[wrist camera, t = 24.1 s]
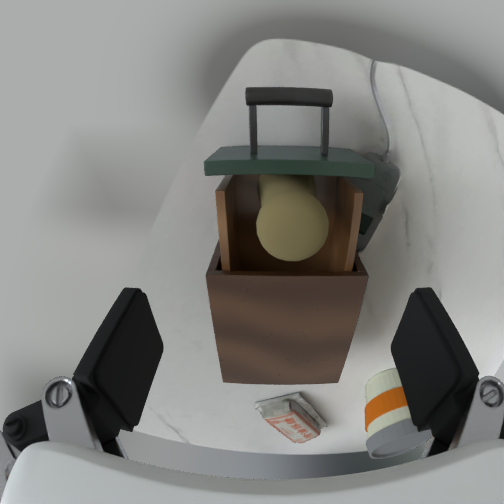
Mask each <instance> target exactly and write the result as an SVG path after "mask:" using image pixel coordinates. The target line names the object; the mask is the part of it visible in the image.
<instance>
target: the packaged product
mask: <svg viewBox="0 0 504 504" xmlns="http://www.w3.org/2000/svg"><path fill="white" fill-rule="evenodd" d="M255 409H256V410H257V411H258V412H259V413H260V414H262V417H263V419H264V420H266V421H267V422H268V423H269V424H270V425H272V426H273V427H274V428H276V429H277V430H278V431H279V432H281V433H282V434H283V435H285V436H286V437H287V438H289V439H290V440H291V441H292V442H294V443H304V442H306V441H309V440H311V439H313V438H315V437H317V436H319V435H320V432H321V430H320V429H322V428H323V427H327V424H326V422H324V421H323V420H322V419H321V418H320V416H319V415H318V414H317V413H316V411H315V410H314V409H313V407H312V405H310V404H308V403H307V402H306V401H305V399H304V398H303V397H302V396H301V395H300V394H299V393H294V394H290V395H286V396H282V397H278V398H274V399H269V400H265V401H260V402H256V403H255Z"/></svg>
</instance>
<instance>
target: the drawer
mask: <svg viewBox="0 0 504 504" xmlns="http://www.w3.org/2000/svg"><path fill="white" fill-rule="evenodd" d="M245 94H246V105H247V106H249V128H250V146H233V147H221V148H219V149H218V150H217V151H216V152H215V153H213V154H212V155H211V156H210V157H209V158H208V159H206V160H205V161H204V171H205V176H213V175H225V177H224V178H223V180H222V182H221V183H220V185H219V186H218V188H217V189H216V191H215V194H216V207H217V219H218V231H219V242H220V253H221V263H222V271H294V272H352V270H353V264H354V259H355V253H356V246H357V240H358V234H359V227H360V219H361V212H362V204H363V195H364V193H363V192H362V191H361V190H360V189H359V188H358V187H357V186H356V185H355V184H354V183H353V182H352V181H351V180H350V179H349V178H348V177H359V178H372V179H373V178H374V174H375V164H373V163H372V162H370V161H369V160H367V159H366V158H364V157H362V156H361V155H359V154H358V153H356V152H354V151H353V150H351V149H344V148H329V147H328V144H329V107H332V103H333V94H332V90H330V89H317V88H297V87H248V88H246V93H245ZM256 105H292V106H316V107H321V147H308V146H258V145H257V106H256ZM261 174H276V175H313V177H314V180H315V183H316V195H317V200H318V201H319V202H320V203H321V205H322V206H323V207H324V209H325V211H326V214H327V217H328V221H329V226H328V236H327V238H326V240H325V243H324V245H323V246H322V247H321V248H320V249H319V251H318V252H317V253H315V254H314V255H312V256H311V257H309V258H307V259H303V260H300V261H285V260H282V259H278V258H276V257H274V256H273V255H271V254H269V253H268V252H267V250H266V249H265V248H264V247H263V246H262V244H261V242H260V239H259V237H258V235H257V226H256V222H257V218H258V214H259V211H260V209H261V204H260V201H259V197H258V190H257V184H258V181H259V177H260V176H261Z"/></svg>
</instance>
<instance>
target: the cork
mask: <svg viewBox="0 0 504 504" xmlns="http://www.w3.org/2000/svg"><path fill="white" fill-rule="evenodd" d="M257 190H258V197H259V201H260V204H261V209H260V211H259V214H258V218H257V222H256V226H257V235H258V237H259V239H260V242H261V244H262V246H263V247H264V248H265V249H266V250H267V252H268V253H269V254H271V255H273V256H274V257H276V258H278V259H282V260H285V261H300V260H303V259H307V258H309V257H311V256H312V255H314V254H315V253H317V252H318V251H319V249H320V248H321V247H322V246H323V245H324V243H325V240H326V238H327V236H328V226H329V221H328V217H327V214H326V211H325V209H324V207H323V206H322V205H321V203H320V202H319V201H318V200H317V195H316V183H315V180H314V177H313V175H276V174H261V176H260V177H259V181H258V184H257Z"/></svg>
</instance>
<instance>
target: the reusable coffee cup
mask: <svg viewBox="0 0 504 504" xmlns="http://www.w3.org/2000/svg"><path fill="white" fill-rule="evenodd" d="M365 430H366V432H368V440H367V441H366V445H367V449H368V452H369V456H370V457H371V458H375V459H380V458H388V457H393V456H397V455H400V454H403V453H406V452H408V451H411V450H412V449H415V448H417V447H419V446H421V445H422V444H424V443H425V442H427V441H428V440H429V439H430V438H431V436H432V433H431V429H429V430H425V431H422V432H418V430H417V426H414V425H413V423H412V419H411V416H410V412H409V408H408V405H407V401H406V398H405V394H404V391H403V387H402V384H401V381H400V377H399V374H398V371H397V368H395V369H389V370H386V371H383V372H381V373H379V374H377V375H375V376H374V377H372V378H371V379H370V380H369V381H368V382H367V384H366V407H365Z"/></svg>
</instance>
